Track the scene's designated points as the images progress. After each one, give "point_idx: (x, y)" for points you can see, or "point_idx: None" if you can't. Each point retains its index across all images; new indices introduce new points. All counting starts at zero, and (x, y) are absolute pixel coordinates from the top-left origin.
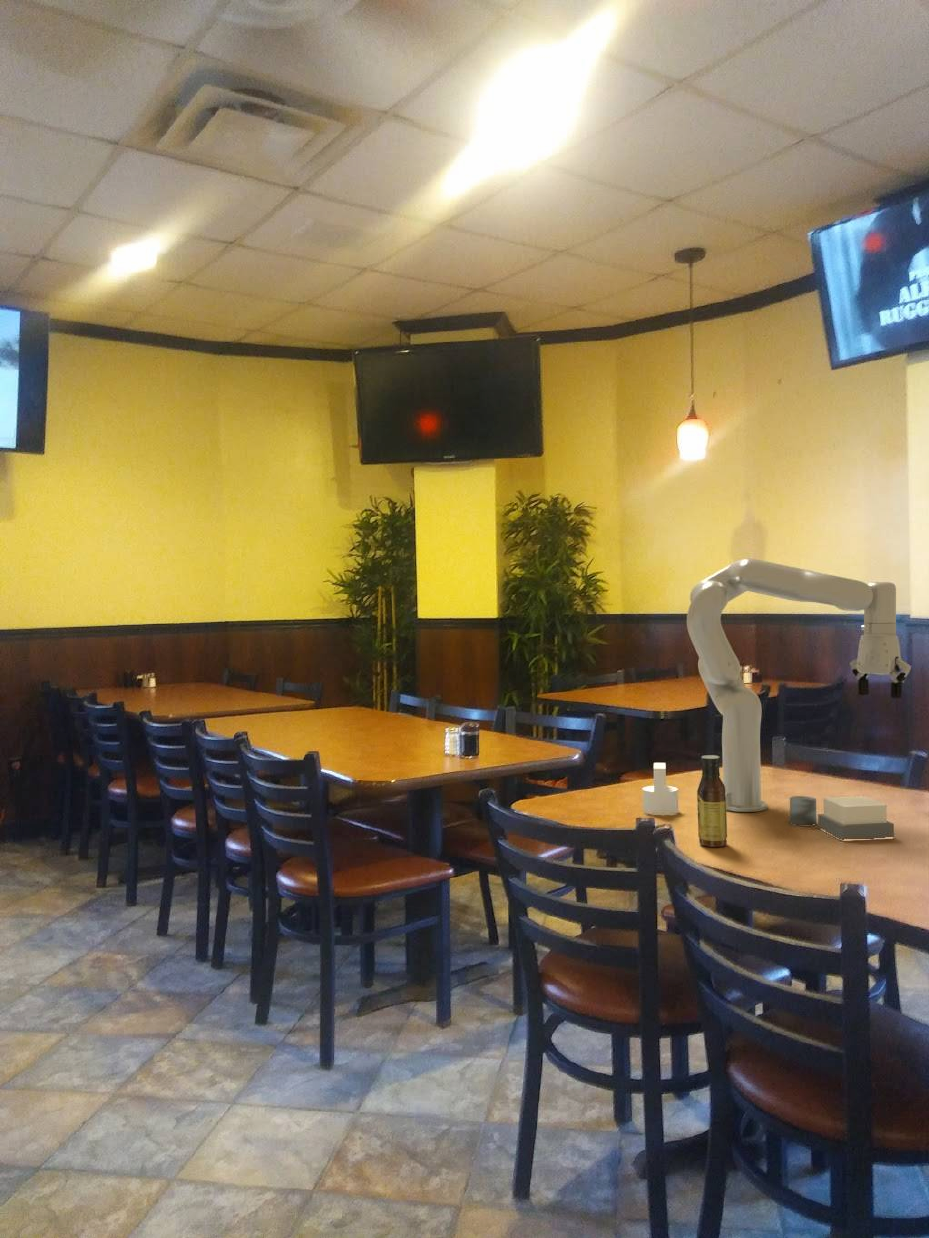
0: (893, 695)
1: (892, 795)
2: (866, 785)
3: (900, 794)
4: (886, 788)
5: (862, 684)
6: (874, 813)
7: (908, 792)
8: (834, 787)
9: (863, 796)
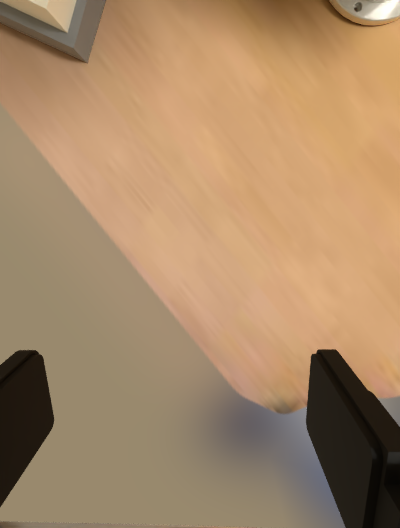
0: (8, 363)
1: (252, 342)
2: None
3: (249, 360)
4: (300, 384)
5: (347, 431)
6: None
7: (251, 384)
8: (373, 317)
9: (44, 2)
